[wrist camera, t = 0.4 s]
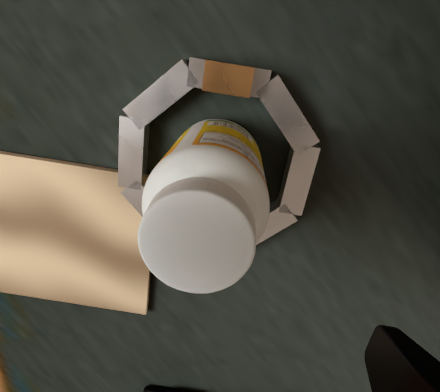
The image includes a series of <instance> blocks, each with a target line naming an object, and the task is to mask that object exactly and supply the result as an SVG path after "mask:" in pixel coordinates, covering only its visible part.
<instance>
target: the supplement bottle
mask: <svg viewBox="0 0 440 392" xmlns="http://www.w3.org/2000/svg"><path fill="white" fill-rule="evenodd" d="M269 212H270V201H269V193H268V188H267V183H266V179H265V174H264V169H263V164H262V159H261V155H260V151H259V148H258V145H257V144H256V142H255V140H254V139H253V137H252V136H251V135H250V134H249V132H248V131H246V130H245V129H244V128H243V127H241V126H240V125H238V124H236V123H234V122H231V121H228V120H224V119H208V120H204V121H200V122H198V123H196V124H194V125H193V126H191V127H190V128H188V129H187V130H186V131H185V132H184V133H183V134H182V135H181V136H180V137H179V139H178V140H177V141H176V142H175V144H174V145H173V146H172V147H171V148H170V150H169V151H168V152H167V153H166V154H165V156H164V157H163V158H162V159H161V160H160V162H159V163H158V164H157V165H156V166H155V168H154V169H153V170H152V172H151V174H150V175H149V177H148V179H147V181H146V184H145V186H144V190H143V195H142V213H143V217H142V219H141V222H140V225H139V229H138V247H139V252H140V254H141V257H142V259H143V261H144V263H145V264H146V266H147V267H148V269H149V270H150V271H151V272H152V273H153V274H154V275H155V276H156V277H157V278H158V279H159V280H161V281H162V282H164V283H165V284H166V285H168V286H170V287H173V288H175V289H178V290H181V291H184V292H189V293H200V294H201V293H212V292H216V291H220V290H222V289H225V288H227V287H229V286H231V285H233V284H234V283H236V282H237V281H238V280H239V279H240V278H242V277H243V275H244V274H245V273H246V272H247V271H248V269H249V268H250V266H251V264H252V261H253V259H254V256H255V249H256V243H257V242H258V241H259V239H260V238H261V236H262V235H263V233H264V231H265V228H266V226H267V223H268V219H269Z"/></svg>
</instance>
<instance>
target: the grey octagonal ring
mask: <svg viewBox="0 0 440 392" xmlns="http://www.w3.org/2000/svg"><path fill="white" fill-rule="evenodd" d="M270 76H271V70H266V69H260V68H254V67H248V66H241V65H235V64H229V63H223V62H217V61H211V60H205V59H199V58H192V57H190V58H189V64H188V62H187V61H186V60H185V59H182V60H180V61H179V62H178V63H177V64H176V65H175V66H173V67H172V68H171V69H170V70H169V71H167V72H166V73H165V74H164V75H163V76H161V77H160V78H159V79H158V80H157V81H156V82H154V83H153V84H152V85H151V86H150V87H148V88H147V89H146V90H145V91H144V92H142V93H141V94H140V95H139V96H138V97H137V98H135V99H134V100H133V101H132V102H131V103H129V104H128V105H127V106H126V107H125V108H123V111H124V112H125V114H123V115H120V116H119V158H118V187H125V188H124V189H123V190H122V191H121V192H120V193H121V194H122V195H123V196H124V197H125V198H126V199H127V201H128V202H129V203H130V204H131V205H132V206H133V207H134V208H135V209H136V210H137V212H138V213H139V214H140V215H141V216H142V217H143V213H142V195H143V190H144V186H145V184H146V182H145V181H144V180H145V176H146V175H147V164H148V148H149V131H150V122H152V121H153V120H154V119H155V118H157V117H158V116H159V115H160V114H162V113H163V112H164V111H165V110H167V109H168V108H169V107H170V106H172V105H173V104H174V103H175V102H177V101H178V100H179V99H180V98H182V97H183V96H184V95H185V94H187V93H188V92H189V91H190V90H192V89H193V88H194V87H195V88H201V89H202V91H208V92H215V93H221V94H227V95H233V96H239V97H245V98H250V96H251V97H257V98H260V100H261V101H262V103H263V104H264V106H265V107H266V109H267V111H268V112H269V114H270V115H271V117H272V118H273V120H274V121H275V123H276V124H277V126H278V127H279V129H280V130H281V132H282V133H283V135H284V136H285V138H286V139H287V141H288V142H289V144H290V145H291V147H290V151H289V155H288V159H287V163H286V167H285V171H284V176H283V180H282V184H281V188H280V192H279V196H278V199H277V200H275V201H273V202H272V203H270V212H269V219H268V223H267V226H266V228H265V231H264V233H263V235H262V236H261V238H260V239H259V241H258V242H257V243H256V245H257V244H259V243H261V242H262V241H264V240H266V239H267V238H269V237H271V236H272V235H274V234H276V233H278V232H279V231H281V230H283V229H284V228H286V227H288V226H290V225H291V224H293V223H295V222H296V221H297V218H296V215H300V216H302V213H303V209H304V206H305V202H306V199H307V195H308V192H309V188H310V185H311V181H312V178H313V174H314V171H315V167H316V163H317V160H318V156H319V153H320V149H321V148H320V147H319V146H318V145H317V143H318V142H320V141H319V139H318V138H317V136H316V134H315V133H314V131H313V130H312V128H311V126H310V125H309V123H308V122H307V120H306V118H305V117H304V115H303V114H302V112H301V110H300V109H299V107H298V106H297V104H296V102H295V101H294V99H293V98H292V96H291V95H290V93H289V91H288V90H287V88H286V87H285V85H284V83H283V82H282V80H281V79H280V77H279V75H277V74H275V75H274V76H273V77H271V78H270Z"/></svg>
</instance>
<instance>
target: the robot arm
mask: <svg viewBox="0 0 440 392" xmlns="http://www.w3.org/2000/svg"><path fill="white" fill-rule="evenodd" d="M365 364H366V368H367V372H368V377H369V381H370V385H371V389H372V392H440V362H439V361H438V360H437V359H436V358H434V357H433V356H432V355H431V354H429V353H428V352H427V351H426V350H424V349H423V348H422V347H421V346H419V345H418V344H417V343H416V342H414V341H413V340H412V339H411V338H409V337H408V336H407V335H406V334H405V333H403V332H402V331H401V330H399V329H398V328H396V327H391V326H385V325H378V326H377V327H376V328H375V330H374V332H373V334H372V336H371V339H370V341H369V343H368V345H367V348H366V350H365ZM143 392H185V391H179V390H172V389H166V388H160V387H153V386H146V387H145V388H144V391H143Z"/></svg>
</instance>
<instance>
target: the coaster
mask: <svg viewBox="0 0 440 392" xmlns="http://www.w3.org/2000/svg"><path fill="white" fill-rule="evenodd" d="M148 177H149V175H148V174H147V175H146V176H145V180H144V181H145V182H146V181H147V179H148ZM124 188H125V187H118V170H117V169H111V168H105V167H98V166H92V165H86V164H80V163H73V162H67V161H61V160H55V159H48V158H42V157H36V156H30V155H24V154H17V153H11V152H5V151H0V291H1V292H4V293H10V294H17V295H23V296H30V297H36V298H42V299H49V300H55V301H61V302H68V303H74V304H81V305H87V306H93V307H100V308H106V309H113V310H119V311H125V312H132V313H138V314H144V315H146V313H147V311H148V300H149V287H150V274H151V271H150V270H149V269H148V267H147V266H146V264H145V263H144V261H143V259H142V257H141V254H140V252H139V247H138V229H139V225H140V222H141V219H142V216H141V215H140V214H139V213H138V212H137V210H136V209H135V208H134V207H133V206H132V205H131V204H130V203H129V202H128V201H127V199H126V198H125V197H124V196H123V195H122V194H121V193H120V192H121V191H122V190H123V189H124Z"/></svg>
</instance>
